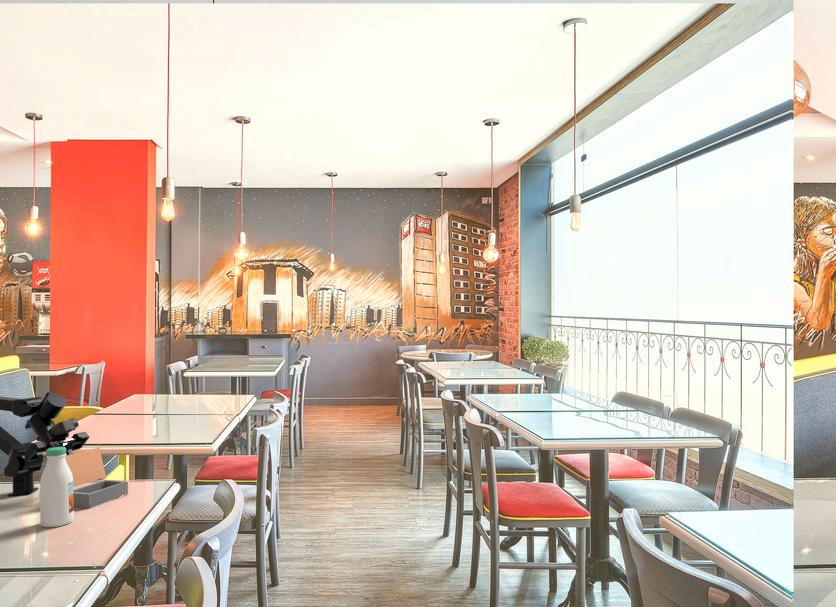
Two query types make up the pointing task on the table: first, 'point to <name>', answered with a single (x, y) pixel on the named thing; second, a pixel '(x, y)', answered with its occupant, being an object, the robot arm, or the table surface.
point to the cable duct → (99, 493)
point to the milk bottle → (56, 490)
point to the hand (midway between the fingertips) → (72, 466)
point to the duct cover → (86, 466)
